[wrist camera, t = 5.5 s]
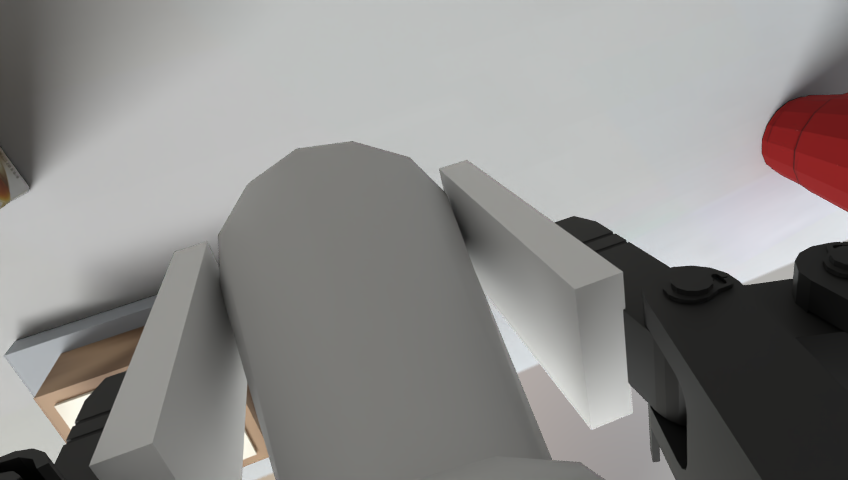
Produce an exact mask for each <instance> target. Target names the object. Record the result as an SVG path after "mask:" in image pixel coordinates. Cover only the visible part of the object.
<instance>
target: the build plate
mask: <svg viewBox="0 0 848 480" xmlns="http://www.w3.org/2000/svg"><path fill="white" fill-rule="evenodd" d="M156 297H157V295H155V296H152V297H149V298H146V299H143V300H140V301H136V302H133V303H130V304H127V305H124V306H121V307H118V308H115V309H112V310H109V311H106V312H103V313H100V314H97V315H94V316H91V317H88V318H84V319H81V320H78V321H75V322H72V323H69V324H66V325H63V326H60V327H57V328H54V329H51V330H48V331H45V332H42V333H39V334H35V335H32V336H29V337H26V338H23V339H20V340H17V341H15V342H14V343H13V345H12V346H11V347H10V348H9V350H8V351H7V352H6V354H5V355H4V357H5V358H6V360H7V361H8V362H9V364H10V365H11V366H12V368H13V369H14V371H15V372H16V373H17V375H18V376H19V377H20V379H21V380H22V382H23V383H24V384H25V386H26V387H27V388H28V390H29V391H30V392H31V394H32V395H33V397H35V395H36V394H37V392H38V390H39V389H40V387H41V386H42V384H43V382H44V381H45V379H46V377H47V376H48V374H49V372H50V371H51V369H52V367H53V366H54V364H55V363H56V361H57V359H58V358H59V356H60V354H61V353H64V352H67V351H70V350H73V349H76V348H79V347H82V346H85V345H88V344H91V343H94V342H97V341H100V340H103V339H106V338H109V337H112V336H115V335H118V334H121V333H124V332H127V331H130V330H133V329H136V328H139V327H142V326H145V324H146V322H147V319H148V317H149V314H150V312H151V309H152V307H153V304H154V302H155V299H156Z"/></svg>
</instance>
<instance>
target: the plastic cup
mask: <svg viewBox="0 0 848 480" xmlns="http://www.w3.org/2000/svg"><path fill="white" fill-rule="evenodd" d="M762 155H763V157H764V160H765V162H766V164H767V165H768V166H770V167H771V168H772V169H773V170H775V171H776V172H778V173H779V174H780V175H782V176H784V177H786V178H788V179H790V180H792V181H794V182H796V183H798V184H800V185H802V186H803V187H805V188H806V189H807V190H809V191H810V192H812V193H814V194H816V195H818V196H820V197H821V198H823V199H825V200H827V201H829V202H831V203H832V204H834V205H836V206H838V207H840V208H842V209H843V210H845V211H847V212H848V93H845V94H841V95H809V96H806V97H799V98H797V99H794V100H791V101H789V102H787V103H786V104H785V105H784V106H782V107H781V108H780V109H779V110H778V111H776V113H775V114H774V116H773V117H772V119H771V120H770V122H769V123H768V125H767V127H766V130H765V133H764V136H763V139H762Z"/></svg>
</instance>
